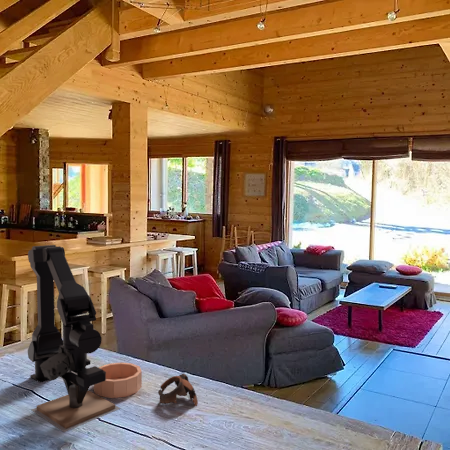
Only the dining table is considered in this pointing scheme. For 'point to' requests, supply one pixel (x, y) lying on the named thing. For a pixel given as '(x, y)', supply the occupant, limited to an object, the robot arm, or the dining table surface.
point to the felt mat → (74, 425)
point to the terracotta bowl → (119, 380)
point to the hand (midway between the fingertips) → (75, 401)
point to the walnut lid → (75, 408)
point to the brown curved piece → (177, 390)
